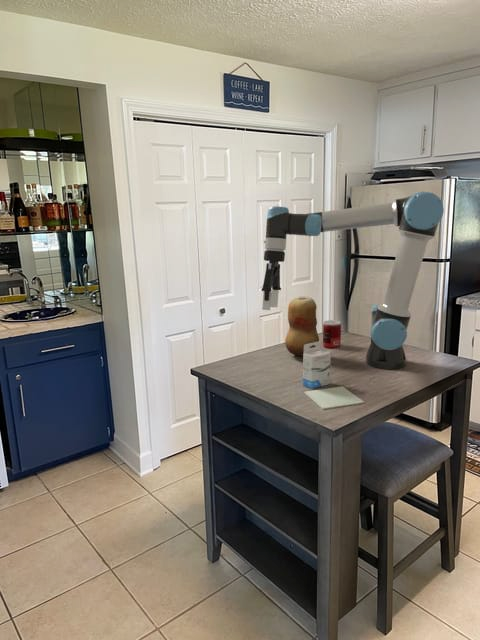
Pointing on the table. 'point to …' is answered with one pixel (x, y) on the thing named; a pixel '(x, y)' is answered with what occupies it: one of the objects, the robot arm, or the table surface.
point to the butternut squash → (301, 325)
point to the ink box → (316, 366)
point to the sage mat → (333, 397)
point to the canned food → (331, 334)
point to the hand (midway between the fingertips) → (270, 308)
